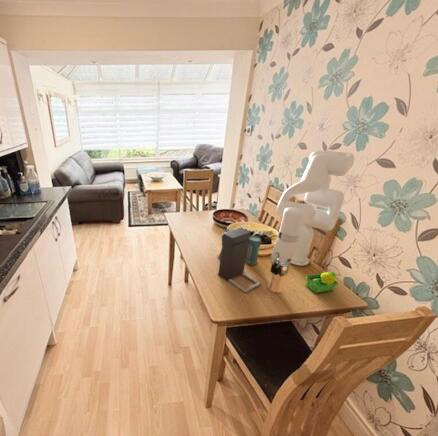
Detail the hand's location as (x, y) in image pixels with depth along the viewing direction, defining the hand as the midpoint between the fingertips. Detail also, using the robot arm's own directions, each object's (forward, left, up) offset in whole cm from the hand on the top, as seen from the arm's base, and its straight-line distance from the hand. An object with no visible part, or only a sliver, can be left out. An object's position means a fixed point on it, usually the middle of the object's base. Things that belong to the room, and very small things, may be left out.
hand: (279, 270), depth 108 cm
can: (-10, -21, -11) cm, 26 cm away
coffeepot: (-2, -31, -11) cm, 33 cm away
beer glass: (0, 0, -10) cm, 10 cm away
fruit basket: (-19, +11, -11) cm, 25 cm away
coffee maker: (+8, -15, -11) cm, 20 cm away
